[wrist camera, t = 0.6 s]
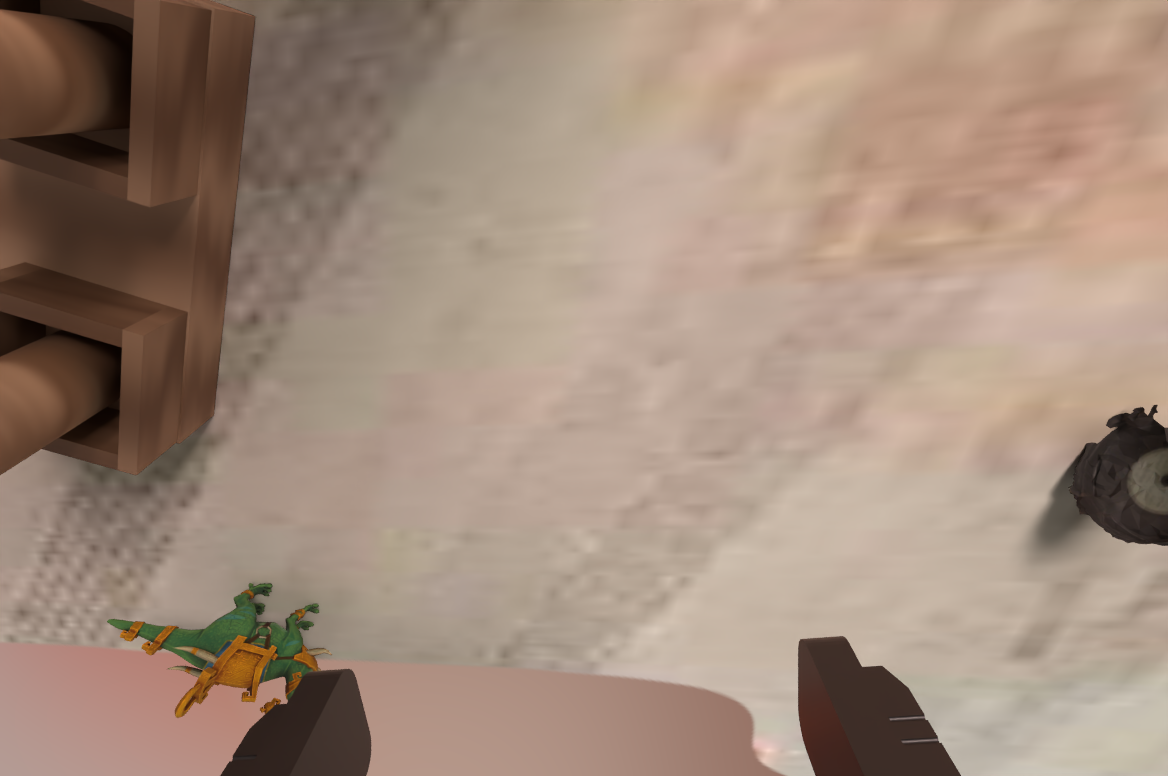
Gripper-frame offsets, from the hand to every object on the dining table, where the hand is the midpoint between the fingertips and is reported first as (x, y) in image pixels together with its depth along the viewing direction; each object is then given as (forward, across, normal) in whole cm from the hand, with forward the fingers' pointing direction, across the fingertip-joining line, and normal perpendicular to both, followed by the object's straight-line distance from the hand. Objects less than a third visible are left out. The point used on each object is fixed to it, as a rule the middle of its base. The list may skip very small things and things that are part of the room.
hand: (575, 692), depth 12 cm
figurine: (+24, +21, +13) cm, 34 cm away
